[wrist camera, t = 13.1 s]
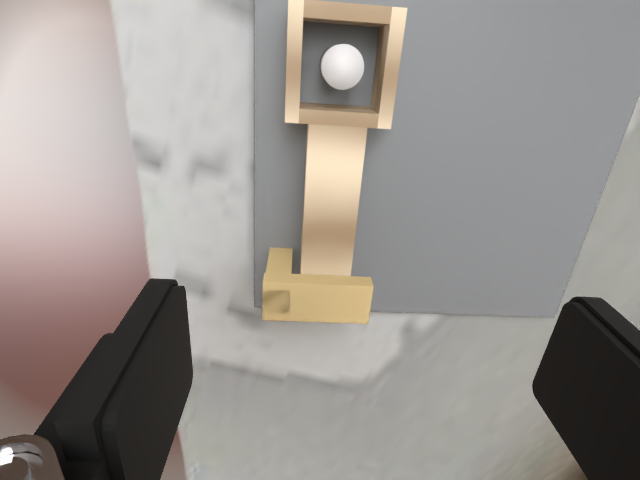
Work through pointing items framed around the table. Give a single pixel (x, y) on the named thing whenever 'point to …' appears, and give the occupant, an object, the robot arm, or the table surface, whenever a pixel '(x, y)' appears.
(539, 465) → the table surface
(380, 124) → the wooden link
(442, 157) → the slate base
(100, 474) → the robot arm
